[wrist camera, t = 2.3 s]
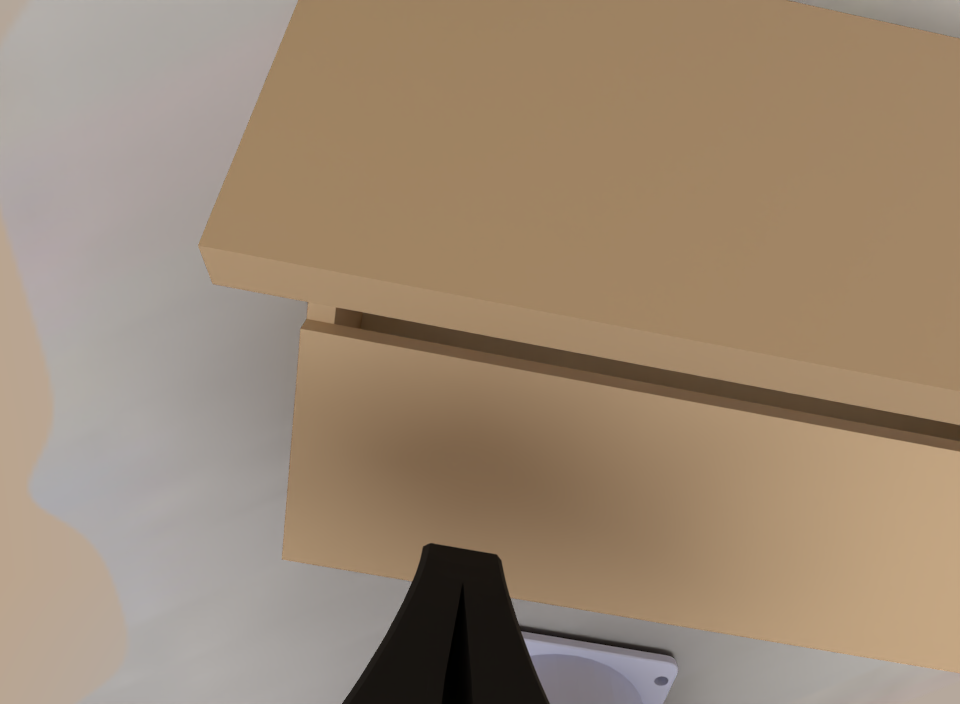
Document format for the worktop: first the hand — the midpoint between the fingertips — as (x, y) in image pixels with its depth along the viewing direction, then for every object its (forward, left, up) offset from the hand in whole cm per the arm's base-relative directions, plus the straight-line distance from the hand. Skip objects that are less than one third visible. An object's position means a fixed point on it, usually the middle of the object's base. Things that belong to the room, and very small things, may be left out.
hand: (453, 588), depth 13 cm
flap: (+8, -6, -1) cm, 10 cm away
